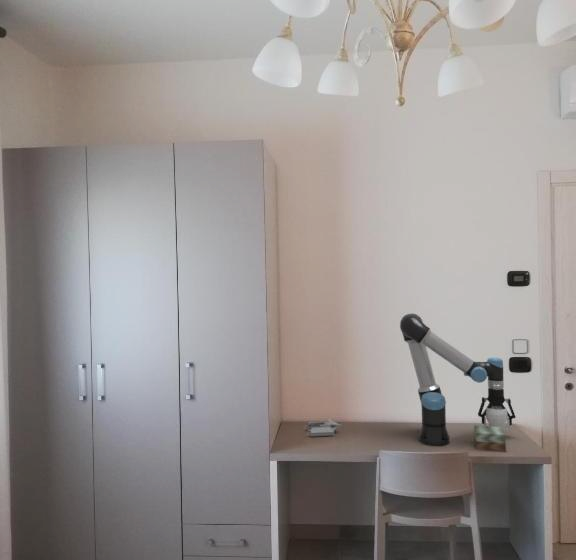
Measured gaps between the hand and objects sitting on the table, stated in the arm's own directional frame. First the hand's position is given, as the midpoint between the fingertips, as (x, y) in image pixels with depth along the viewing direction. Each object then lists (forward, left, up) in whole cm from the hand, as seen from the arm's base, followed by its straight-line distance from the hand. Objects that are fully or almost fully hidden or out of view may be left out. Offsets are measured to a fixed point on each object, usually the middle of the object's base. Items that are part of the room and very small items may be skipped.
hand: (496, 430), depth 261 cm
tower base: (-5, -17, -3) cm, 18 cm away
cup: (0, 0, -3) cm, 3 cm away
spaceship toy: (-89, -14, -3) cm, 90 cm away
